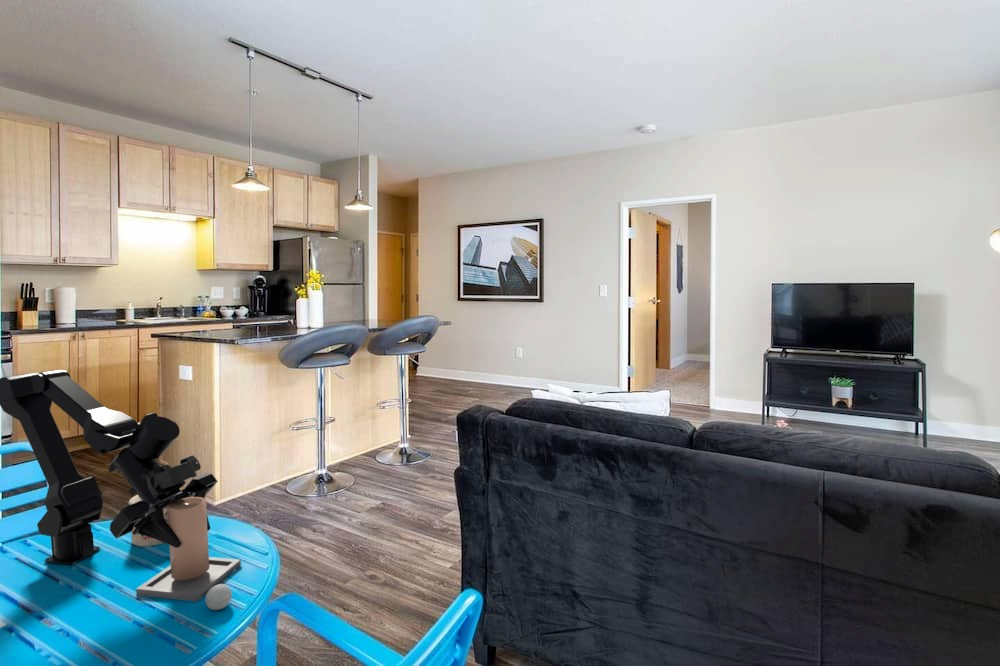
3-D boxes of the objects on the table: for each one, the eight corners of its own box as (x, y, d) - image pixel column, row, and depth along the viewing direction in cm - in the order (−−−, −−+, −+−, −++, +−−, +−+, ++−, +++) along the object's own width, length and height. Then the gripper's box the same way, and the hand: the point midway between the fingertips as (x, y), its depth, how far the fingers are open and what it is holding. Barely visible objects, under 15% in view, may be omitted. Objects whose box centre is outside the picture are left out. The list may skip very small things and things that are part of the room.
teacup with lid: (140, 552, 111) (136, 497, 109) (124, 539, 116) (120, 487, 115) (201, 530, 120) (198, 480, 119) (183, 519, 126) (180, 471, 124)
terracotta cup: (165, 582, 96) (161, 512, 95) (178, 564, 102) (174, 498, 101) (203, 577, 98) (199, 508, 97) (213, 560, 104) (210, 495, 103)
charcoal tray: (136, 595, 95) (136, 588, 95) (186, 560, 107) (185, 554, 107) (197, 601, 93) (196, 595, 93) (240, 565, 105) (240, 559, 105)
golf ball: (200, 614, 90) (199, 592, 89) (214, 600, 94) (213, 578, 93) (223, 615, 90) (222, 592, 89) (237, 601, 94) (235, 579, 93)
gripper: (117, 463, 90) (172, 535, 88) (207, 433, 108) (255, 492, 106) (86, 502, 93) (138, 573, 91) (179, 467, 111) (225, 525, 109)
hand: (194, 538), depth 99 cm, fingers closed on terracotta cup, 6 cm apart
